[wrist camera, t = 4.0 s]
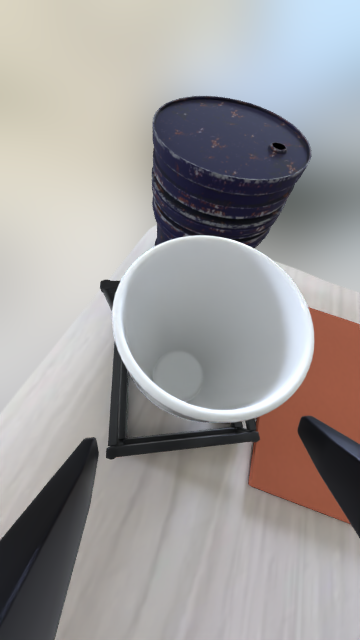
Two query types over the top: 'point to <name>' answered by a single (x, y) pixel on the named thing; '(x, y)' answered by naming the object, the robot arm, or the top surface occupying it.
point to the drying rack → (164, 441)
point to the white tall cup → (212, 329)
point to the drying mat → (320, 402)
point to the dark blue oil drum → (222, 168)
